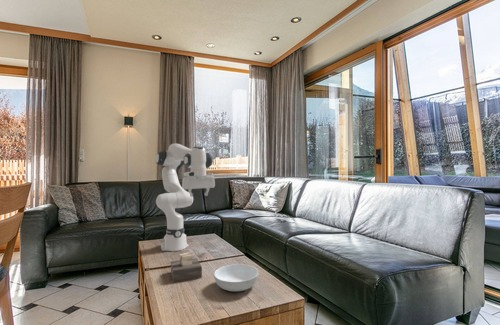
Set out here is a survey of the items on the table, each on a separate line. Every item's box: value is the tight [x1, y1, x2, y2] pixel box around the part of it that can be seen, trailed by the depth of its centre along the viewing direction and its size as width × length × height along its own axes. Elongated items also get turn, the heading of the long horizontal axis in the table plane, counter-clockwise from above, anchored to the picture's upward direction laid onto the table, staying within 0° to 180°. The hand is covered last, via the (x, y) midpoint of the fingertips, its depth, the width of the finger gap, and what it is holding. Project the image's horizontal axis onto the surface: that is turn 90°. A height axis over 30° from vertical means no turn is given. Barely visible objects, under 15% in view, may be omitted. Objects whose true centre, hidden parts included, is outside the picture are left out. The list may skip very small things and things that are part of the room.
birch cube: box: [179, 252, 193, 267], centre depth 140 cm, size 5×5×5 cm
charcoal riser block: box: [170, 257, 203, 283], centre depth 140 cm, size 14×14×6 cm
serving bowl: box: [213, 263, 259, 292], centre depth 126 cm, size 21×21×7 cm
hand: (199, 196), depth 162 cm, fingers open, 8 cm apart
